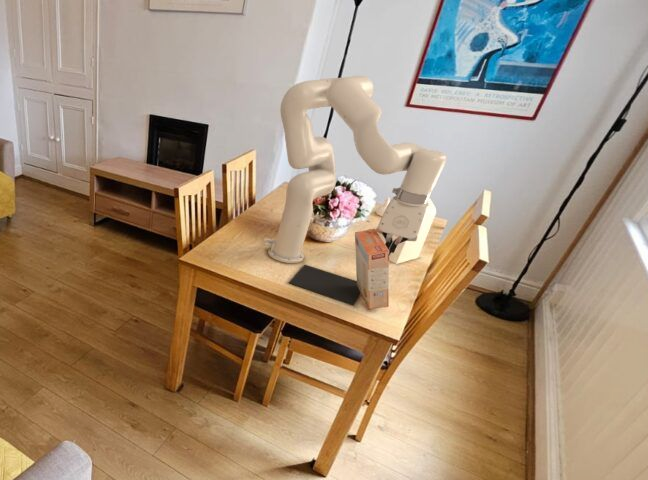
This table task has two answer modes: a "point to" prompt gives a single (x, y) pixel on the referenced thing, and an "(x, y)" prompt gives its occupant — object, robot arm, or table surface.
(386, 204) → the garlic bulb
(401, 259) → the milk
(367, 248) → the cracker box
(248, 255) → the table surface
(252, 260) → the table surface
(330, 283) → the mat
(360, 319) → the table surface
